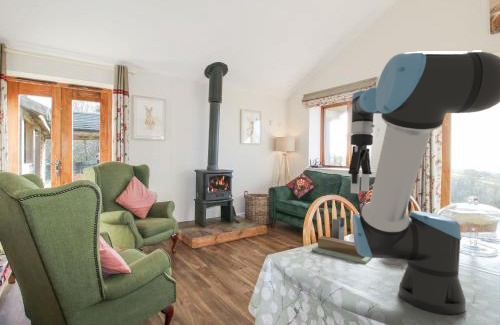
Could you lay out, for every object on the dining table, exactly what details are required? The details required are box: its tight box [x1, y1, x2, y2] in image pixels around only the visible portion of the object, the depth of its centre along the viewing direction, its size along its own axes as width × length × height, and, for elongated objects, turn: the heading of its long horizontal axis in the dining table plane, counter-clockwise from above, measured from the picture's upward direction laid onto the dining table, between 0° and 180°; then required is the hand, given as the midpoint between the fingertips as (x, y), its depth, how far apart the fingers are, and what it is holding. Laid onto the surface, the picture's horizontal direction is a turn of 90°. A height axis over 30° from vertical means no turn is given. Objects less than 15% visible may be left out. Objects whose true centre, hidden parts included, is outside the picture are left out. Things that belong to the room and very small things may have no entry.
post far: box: [331, 216, 346, 240], centre depth 124 cm, size 7×5×12 cm
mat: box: [311, 244, 373, 265], centre depth 112 cm, size 8×21×1 cm, turn 52°
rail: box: [317, 235, 365, 258], centre depth 112 cm, size 4×18×4 cm, turn 53°
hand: (360, 192), depth 105 cm, fingers open, 13 cm apart
